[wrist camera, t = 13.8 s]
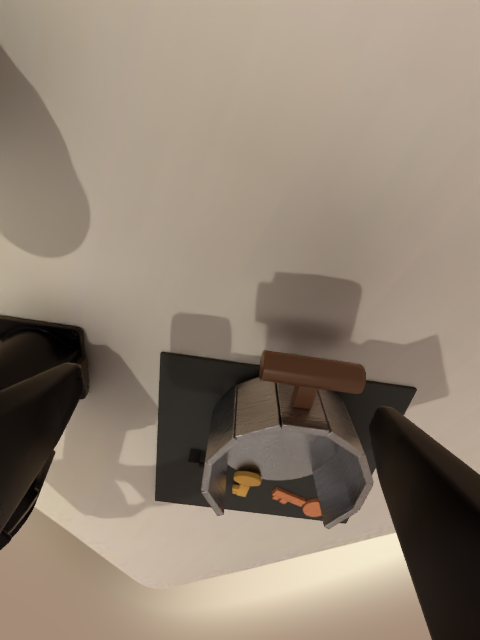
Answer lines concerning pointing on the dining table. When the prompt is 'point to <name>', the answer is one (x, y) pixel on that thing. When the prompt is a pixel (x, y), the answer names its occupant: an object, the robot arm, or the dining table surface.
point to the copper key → (298, 501)
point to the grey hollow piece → (292, 432)
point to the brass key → (245, 482)
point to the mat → (194, 426)
